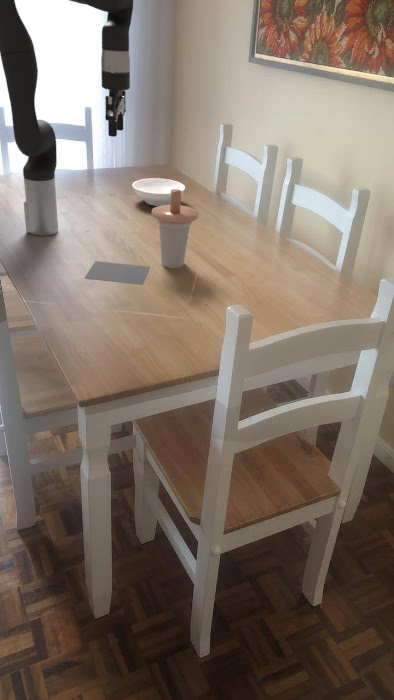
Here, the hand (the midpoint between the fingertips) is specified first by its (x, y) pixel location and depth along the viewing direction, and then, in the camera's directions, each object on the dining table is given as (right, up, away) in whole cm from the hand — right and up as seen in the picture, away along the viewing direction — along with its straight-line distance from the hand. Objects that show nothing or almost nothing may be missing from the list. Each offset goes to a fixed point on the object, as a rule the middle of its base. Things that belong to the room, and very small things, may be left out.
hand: (116, 133), depth 160 cm
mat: (+1, -39, -1) cm, 40 cm away
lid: (+17, -23, -1) cm, 28 cm away
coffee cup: (+16, -36, +7) cm, 40 cm away
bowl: (+8, -6, +55) cm, 56 cm away
